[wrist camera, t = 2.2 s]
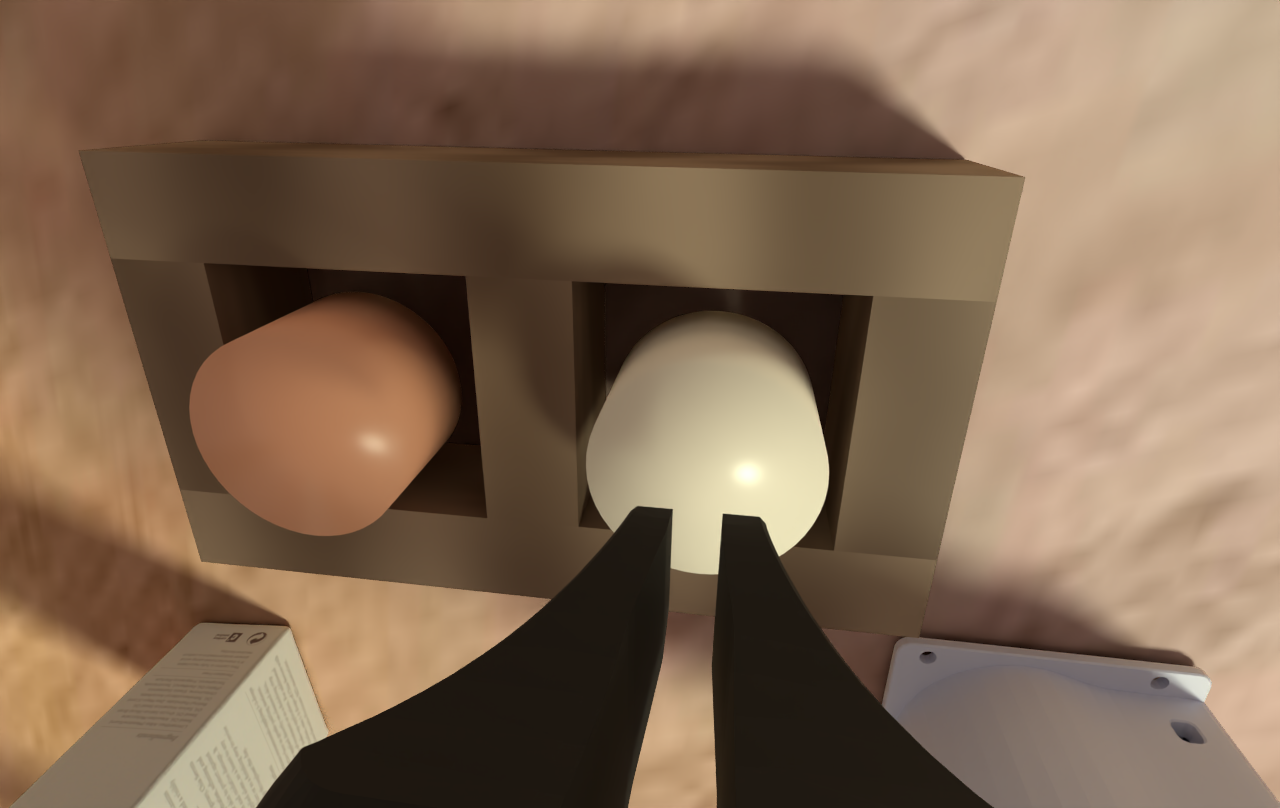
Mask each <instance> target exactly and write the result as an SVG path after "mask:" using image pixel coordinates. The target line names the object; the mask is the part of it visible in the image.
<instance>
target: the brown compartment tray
mask: <svg viewBox="0 0 1280 808" xmlns="http://www.w3.org/2000/svg"><path fill="white" fill-rule="evenodd" d="M79 154H80V157H81V161H82V164H83V167H84V171H85V174H86V177H87V181H88V184H89V187H90V191H91V194H92V197H93V201H94V204H95V207H96V211H97V214H98V217H99V221H100V224H101V228H102V231H103V234H104V238H105V241H106V244H107V248H108V251H109V254H110V258H111V261H112V264H113V268H114V271H115V274H116V278H117V281H118V284H119V288H120V291H121V294H122V298H123V301H124V304H125V308H126V311H127V314H128V318H129V321H130V324H131V328H132V331H133V334H134V338H135V341H136V344H137V348H138V351H139V354H140V358H141V361H142V364H143V368H144V371H145V375H146V378H147V381H148V385H149V388H150V391H151V395H152V398H153V401H154V405H155V408H156V411H157V415H158V418H159V421H160V425H161V428H162V431H163V435H164V438H165V441H166V445H167V448H168V451H169V455H170V458H171V461H172V465H173V468H174V471H175V475H176V478H177V481H178V485H179V488H180V491H181V495H182V498H183V501H184V505H185V508H186V512H187V515H188V518H189V522H190V525H191V528H192V532H193V535H194V538H195V542H196V545H197V548H198V552H199V555H200V558H201V562H211V563H220V564H229V565H239V566H248V567H258V568H267V569H276V570H286V571H295V572H304V573H314V574H323V575H332V576H342V577H351V578H360V579H370V580H379V581H389V582H398V583H407V584H417V585H426V586H435V587H445V588H454V589H463V590H473V591H482V592H491V593H501V594H510V595H520V596H529V597H538V598H548V599H553V598H554V597H555V596H556V595H557V594H558V593H559V592H560V591H561V590H562V589H563V588H564V587H565V586H566V585H567V584H568V583H569V582H570V581H571V580H572V579H573V578H574V577H575V576H576V575H577V574H578V573H579V572H580V571H581V570H582V569H583V568H584V567H585V566H586V565H587V564H588V562H589V561H590V560H591V559H592V558H593V557H594V556H595V555H596V554H597V553H598V551H599V550H600V549H601V548H602V547H603V546H604V545H605V543H606V542H607V541H608V540H609V539H610V537H611V536H612V535H613V534H614V532H613V531H612V530H611V529H610V528H609V526H608V525H607V523H606V522H605V521H604V519H603V518H602V516H601V515H600V513H599V511H598V509H597V507H596V506H595V503H594V501H593V498H592V496H591V493H590V489H589V485H588V481H587V473H586V453H587V448H588V443H589V438H590V435H591V433H592V430H593V427H594V425H595V423H596V420H597V418H598V416H599V414H600V412H601V410H602V408H603V405H604V403H605V401H606V350H605V283H619V284H639V285H660V286H680V287H701V288H721V289H741V290H762V291H782V292H802V293H823V294H843V302H842V309H841V317H840V324H839V331H838V338H837V346H836V353H835V360H834V368H833V375H832V382H831V390H830V397H829V404H828V411H827V419H826V426H825V433H824V442H825V446H826V451H827V455H828V464H829V482H828V489H827V494H826V498H825V501H824V504H823V506H822V509H821V511H820V514H819V515H818V517H817V519H816V521H815V522H814V524H813V525H812V527H811V528H810V529H809V531H808V532H807V533H806V534H805V536H804V537H803V538H802V539H801V540H800V541H799V542H798V543H797V544H796V545H795V546H793V547H792V548H791V549H789V550H788V551H787V552H785V553H784V554H782V555H781V556H779V558H780V560H781V562H782V564H783V566H784V568H785V570H786V571H787V573H788V575H789V577H790V579H791V581H792V582H793V584H794V586H795V588H796V589H797V591H798V593H799V594H800V596H801V598H802V600H803V601H804V603H805V605H806V606H807V608H808V609H809V611H810V613H811V614H812V616H813V617H814V619H815V620H816V622H817V623H818V625H819V626H820V628H828V629H838V630H847V631H856V632H866V633H875V634H884V635H894V636H903V637H912V638H919V636H920V632H921V627H922V623H923V619H924V614H925V610H926V606H927V601H928V597H929V593H930V588H931V584H932V580H933V575H934V571H935V567H936V562H937V558H938V554H939V549H940V545H941V541H942V536H943V532H944V528H945V523H946V519H947V515H948V510H949V506H950V501H951V497H952V493H953V488H954V484H955V480H956V475H957V471H958V467H959V462H960V458H961V454H962V449H963V445H964V441H965V436H966V432H967V428H968V423H969V419H970V415H971V410H972V406H973V402H974V397H975V393H976V389H977V384H978V380H979V376H980V371H981V367H982V363H983V358H984V354H985V350H986V345H987V341H988V337H989V332H990V328H991V324H992V319H993V315H994V311H995V306H996V302H997V298H998V293H999V289H1000V285H1001V280H1002V276H1003V272H1004V267H1005V263H1006V259H1007V254H1008V250H1009V246H1010V241H1011V237H1012V232H1013V228H1014V224H1015V219H1016V215H1017V211H1018V206H1019V202H1020V198H1021V193H1022V189H1023V185H1024V180H1025V177H1023V176H1019V175H1016V174H1013V173H1009V172H1006V171H1003V170H999V169H996V168H992V167H989V166H986V165H982V164H979V163H976V162H972V161H969V160H954V159H915V158H876V157H836V156H797V155H758V154H718V153H679V152H639V151H600V150H561V149H521V148H482V147H443V146H403V145H364V144H325V143H285V142H246V141H206V140H200V141H188V142H176V143H164V144H152V145H140V146H128V147H116V148H104V149H92V150H80V151H79ZM307 268H314V269H334V270H354V271H375V272H395V273H416V274H436V275H456V276H466V287H467V298H468V309H469V320H470V331H471V343H472V354H473V365H474V376H475V387H476V398H477V409H478V420H479V431H480V442H481V446H479V445H467V444H454V443H445V444H444V445H443V446H442V447H441V448H440V449H439V451H438V452H437V453H436V454H435V455H434V456H433V457H432V459H431V460H430V461H429V462H428V463H427V464H426V466H425V467H424V468H423V469H422V470H421V471H420V472H419V474H418V475H417V476H416V477H415V478H414V479H413V480H412V482H411V483H410V484H409V485H408V486H407V487H406V489H405V490H404V491H403V492H402V493H401V494H400V495H399V497H398V498H397V499H396V500H395V501H394V502H393V504H392V505H391V506H390V507H389V508H388V509H387V510H386V511H385V513H384V514H383V515H382V516H381V517H380V518H378V519H377V520H376V521H375V522H373V523H372V524H370V525H368V526H366V527H365V528H363V529H360V530H357V531H355V532H352V533H348V534H343V535H335V536H315V535H308V534H302V533H298V532H295V531H291V530H288V529H285V528H283V527H280V526H277V525H275V524H273V523H271V522H269V521H267V520H265V519H263V518H261V517H260V516H258V515H257V514H255V513H253V512H252V511H250V510H249V509H248V508H246V507H245V506H244V505H242V504H241V503H240V502H239V501H237V500H236V499H235V498H234V497H233V496H232V495H231V494H230V493H229V492H228V491H227V490H226V489H225V488H224V487H223V486H222V485H221V484H220V482H219V481H218V480H217V478H216V477H215V476H214V475H213V473H212V472H211V470H210V469H209V467H208V466H207V464H206V462H205V461H204V459H203V457H202V455H201V453H200V451H199V449H198V446H197V444H196V441H195V438H194V435H193V431H192V426H191V422H190V411H189V404H190V393H191V389H192V384H193V382H194V379H195V377H196V374H197V372H198V370H199V369H200V367H201V366H202V364H203V363H204V361H205V360H206V359H207V358H208V357H209V356H210V355H211V354H212V353H213V352H215V351H216V350H217V349H219V348H220V347H221V346H223V345H225V344H227V343H229V342H231V341H233V340H235V339H237V338H239V337H241V336H244V335H246V334H248V333H250V332H252V331H254V330H256V329H258V328H260V327H262V326H265V325H267V324H269V323H271V322H273V321H275V320H277V319H279V318H281V317H283V316H285V315H288V314H290V313H292V312H294V311H296V310H298V309H300V308H302V307H304V306H306V305H308V304H311V303H313V300H312V295H311V289H310V284H309V279H308V273H307ZM717 583H718V574H697V573H690V572H684V571H680V570H676V569H672V568H671V570H670V595H669V612H679V613H688V614H697V615H707V616H715V610H716V596H717Z"/></svg>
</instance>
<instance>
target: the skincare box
mask: <svg viewBox="0 0 1280 808" xmlns="http://www.w3.org/2000/svg"><path fill="white" fill-rule="evenodd" d="M327 735H328V729H327V726H326V724H325V721H324V719H323V716H322V713H321V711H320V708H319V705H318V703H317V700H316V697H315V694H314V691H313V689H312V686H311V683H310V681H309V678H308V675H307V673H306V670H305V667H304V665H303V662H302V659H301V657H300V654H299V651H298V648H297V645H296V643H295V640H294V637H293V634H292V631H291V629H290V628H289V627H287V626H275V625H248V624H223V623H199V624H197V625H196V626H195V627H194V628H193V629H192V630H190V631H189V632H188V633H187V634H186V635H185V636H184V637H183V638H182V639H181V640H180V641H179V642H178V643H177V644H176V645H175V646H174V647H173V648H172V649H171V650H170V651H169V652H168V653H167V654H166V655H165V656H164V657H163V658H162V659H161V660H160V661H159V662H158V663H157V664H156V665H155V666H154V667H153V668H152V669H151V670H150V671H149V672H148V673H146V674H145V675H144V676H143V677H142V678H141V679H140V680H139V681H138V682H137V683H136V684H135V685H134V686H133V687H132V688H131V689H130V690H129V691H128V692H127V693H126V694H125V695H124V696H123V697H122V698H121V699H120V700H119V701H118V702H117V703H116V704H115V705H114V706H113V707H112V708H111V709H110V710H109V711H108V712H107V713H106V714H105V715H103V716H102V717H101V718H100V719H99V720H98V721H97V722H96V723H95V724H94V725H93V726H92V727H91V728H90V729H89V730H88V731H87V732H86V733H85V734H84V735H83V736H82V737H81V738H80V739H79V740H78V741H77V742H76V743H75V744H74V745H73V746H72V747H70V748H69V749H68V750H67V751H66V752H65V753H64V754H63V755H62V756H61V757H60V758H59V759H58V760H57V761H56V762H55V763H54V764H53V765H52V766H51V767H50V768H49V769H48V770H47V771H46V772H45V773H44V774H43V775H42V776H41V777H40V778H39V779H38V780H37V781H36V782H35V783H34V784H33V785H32V786H31V787H30V788H29V789H28V790H27V791H26V792H25V793H24V794H23V795H21V796H20V797H19V798H18V799H17V800H16V801H15V802H14V803H13V804H12V805H11V806H10V807H9V808H256V807H257V805H258V804H259V802H260V801H261V800H262V798H263V797H264V795H265V794H266V793H267V791H268V790H269V788H270V787H271V786H272V784H273V783H274V782H275V780H276V779H277V778H278V777H279V776H280V774H281V773H282V772H283V771H284V769H285V768H286V767H287V766H288V765H289V763H290V762H291V761H292V760H293V759H294V757H295V756H296V755H297V753H298V752H299V751H300V750H301V748H303V747H305V746H308V745H310V744H313V743H315V742H318V741H320V740H322V739H324V738H326V737H327Z"/></svg>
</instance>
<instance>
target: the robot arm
mask: <svg viewBox="0 0 1280 808" xmlns="http://www.w3.org/2000/svg"><path fill="white" fill-rule="evenodd" d="M672 518H673V509H667V508H656V507H644V506H636V507H635V508H634V509H632V510H631V511H630V512H629V514H628V515H627V517H626V518H625V519H624V521H623V522H622V523H621V525H620V526H619V527H618V529H617V530H616V531H615V532H614V534H613V535H612V536H611V537H610V539H609V540H608V541H607V542H606V543H605V545H604V546H603V547H602V548H601V549H600V550H599V551H598V553H597V554H596V555H595V556H594V557H593V558H592V559H591V560H590V561H589V562H588V564H587V565H586V566H585V567H584V568H583V569H582V570H581V571H580V572H579V573H578V574H577V575H576V576H575V577H574V578H573V579H572V580H571V581H570V582H569V583H568V584H567V585H566V586H565V587H564V588H563V589H562V590H561V591H560V592H559V593H558V594H557V595H556V596H555V597H554V598H553V599H552V600H551V601H550V602H548V603H547V604H546V605H545V606H544V607H543V608H542V609H541V610H540V611H538V612H537V613H536V614H535V615H534V616H533V617H531V618H530V619H529V620H528V621H527V622H525V623H524V624H523V625H522V626H520V627H519V628H518V629H517V630H515V631H514V632H513V633H512V634H510V635H509V636H508V637H506V638H505V639H504V640H503V641H501V642H500V643H498V644H497V645H496V646H494V647H493V648H491V649H490V650H488V651H487V652H486V653H484V654H483V655H481V656H480V657H478V658H477V659H475V660H474V661H472V662H471V663H469V664H468V665H466V666H464V667H463V668H461V669H460V670H458V671H457V672H455V673H454V674H452V675H450V676H449V677H447V678H445V679H444V680H442V681H440V682H438V683H437V684H435V685H433V686H431V687H430V688H428V689H426V690H424V691H423V692H421V693H419V694H417V695H415V696H413V697H411V698H409V699H407V700H406V701H404V702H402V703H400V704H398V705H396V706H394V707H392V708H390V709H388V710H386V711H384V712H382V713H380V714H378V715H376V716H374V717H372V718H369V719H367V720H365V721H363V722H360V723H358V724H356V725H354V726H351V727H349V728H347V729H345V730H342V731H340V732H338V733H336V734H333V735H331V736H329V737H327V738H324V739H322V740H320V741H318V742H315V743H313V744H310V745H308V746H305V747H303V748H301V750H300V751H299V752H298V753H297V755H296V756H295V757H294V759H293V760H292V761H291V762H290V763H289V765H288V766H287V767H286V768H285V769H284V771H283V772H282V773H281V774H280V776H279V777H278V778H277V779H276V780H275V782H274V783H273V784H272V786H271V787H270V788H269V790H268V791H267V793H266V794H265V795H264V797H263V798H262V800H261V801H260V802H259V804H258V805H257V807H256V808H628V804H629V799H630V794H631V789H632V784H633V780H634V775H635V771H636V767H637V763H638V759H639V755H640V751H641V747H642V743H643V738H644V734H645V730H646V726H647V722H648V718H649V714H650V710H651V705H652V701H653V697H654V693H655V689H656V685H657V680H658V676H659V672H660V668H661V664H662V659H663V651H664V643H665V635H666V627H667V619H668V611H669V595H670V570H671V544H672ZM928 651H930V652H932V653H930V654H928V655H922V653H924V652H928ZM1157 677H1160V678H1158V679H1156V680H1153V679H1155V678H1157ZM712 683H713V709H714V734H715V759H716V784H717V808H1280V803H1279V801H1278V800H1277V799H1276V797H1275V796H1274V795H1273V793H1272V792H1271V791H1270V789H1269V788H1268V787H1267V785H1266V784H1265V783H1264V781H1263V780H1262V779H1261V777H1260V776H1259V775H1258V773H1257V772H1256V771H1255V769H1254V768H1253V767H1252V765H1251V764H1250V763H1249V761H1248V760H1247V759H1246V757H1245V756H1244V755H1243V753H1242V752H1241V751H1240V749H1239V748H1238V747H1237V745H1236V744H1235V743H1234V741H1233V740H1232V739H1231V737H1230V736H1229V735H1228V733H1227V732H1226V731H1225V729H1224V728H1223V727H1222V725H1221V724H1220V723H1219V721H1218V720H1217V719H1216V717H1215V716H1214V715H1213V713H1212V712H1211V711H1210V710H1209V708H1208V707H1207V706H1206V704H1205V703H1204V701H1205V699H1206V697H1207V695H1208V693H1209V691H1210V689H1211V685H1212V682H1211V680H1210V678H1209V677H1208V676H1207V674H1206V673H1205V672H1204V671H1203V670H1201V669H1200V668H1197V667H1193V666H1184V665H1174V664H1165V663H1156V662H1146V661H1137V660H1127V659H1118V658H1109V657H1099V656H1090V655H1081V654H1071V653H1062V652H1052V651H1043V650H1034V649H1024V648H1015V647H1006V646H996V645H987V644H977V643H968V642H959V641H949V640H940V639H931V638H921V637H919V638H912V637H904V638H901V639H900V640H898V641H897V642H896V644H895V646H894V650H893V655H892V659H891V664H890V669H889V673H888V678H887V683H886V688H885V692H884V697H883V702H882V705H881V704H880V703H879V702H878V700H877V699H876V698H875V697H874V696H873V695H872V694H871V692H870V691H869V690H868V689H867V688H866V687H865V686H864V684H863V683H862V682H861V681H860V680H859V678H858V677H857V676H856V675H855V673H854V672H853V671H852V670H851V669H850V667H849V666H848V665H847V664H846V662H845V661H844V660H843V658H842V657H841V656H840V654H839V653H838V652H837V650H836V649H835V648H834V646H833V645H832V644H831V642H830V641H829V639H828V638H827V637H826V635H825V634H824V632H823V631H822V629H821V628H820V626H819V625H818V623H817V622H816V620H815V619H814V617H813V616H812V614H811V613H810V611H809V609H808V608H807V606H806V605H805V603H804V601H803V600H802V598H801V596H800V594H799V593H798V591H797V589H796V588H795V586H794V584H793V582H792V581H791V579H790V577H789V575H788V573H787V571H786V570H785V568H784V566H783V564H782V562H781V560H780V558H779V556H778V553H777V551H776V549H775V547H774V545H773V542H772V540H771V538H770V535H769V532H768V530H767V526H766V523H765V522H764V521H763V520H762V519H761V518H760V517H757V516H746V515H735V514H723V515H722V529H721V542H720V556H719V569H718V583H717V596H716V610H715V625H714V641H713V656H712Z"/></svg>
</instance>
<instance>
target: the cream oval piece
mask: <svg viewBox="0 0 1280 808" xmlns="http://www.w3.org/2000/svg"><path fill="white" fill-rule="evenodd" d="M586 473H587V481H588V485H589V489H590V493H591V496H592V498H593V501H594V503H595V506H596V507H597V509H598V511H599V513H600V515H601V516H602V518H603V519H604V521H605V522H606V523H607V525H608V526H609V528H610V529H611V530H612V531H613V532H615V531H616V530H617V529H618V527H619V526H620V525H621V523H622V522H623V521H624V519H625V518H626V517H627V515H628V514H629V512H630V511H631V510H632V509H634V508H635V507H636V506H644V507H656V508H667V509H673V518H672V544H671V568H672V569H676V570H680V571H684V572H690V573H697V574H718V569H719V556H720V542H721V529H722V515H723V514H735V515H746V516H757V517H760V518H761V519H762V520H763V521H764V522H765V523H766V526H767V530H768V532H769V535H770V538H771V540H772V542H773V545H774V547H775V549H776V551H777V553H778V556H781V555H782V554H784V553H785V552H787V551H788V550H789V549H791V548H792V547H793V546H795V545H796V544H797V543H798V542H799V541H800V540H801V539H802V538H803V537H804V536H805V534H806V533H807V532H808V531H809V529H810V528H811V527H812V525H813V524H814V522H815V521H816V519H817V517H818V515H819V514H820V511H821V509H822V506H823V504H824V501H825V498H826V494H827V489H828V482H829V464H828V455H827V451H826V446H825V442H824V437H823V433H822V428H821V424H820V419H819V415H818V410H817V406H816V401H815V397H814V392H813V388H812V384H811V380H810V376H809V374H808V371H807V369H806V366H805V365H804V363H803V361H802V359H801V358H800V356H799V354H798V353H797V352H796V351H795V349H794V348H793V347H792V345H791V344H790V343H789V342H788V341H787V340H786V339H785V338H783V337H782V336H781V335H780V334H779V333H777V332H776V331H775V330H773V329H772V328H771V327H769V326H767V325H765V324H763V323H762V322H760V321H758V320H755V319H753V318H750V317H747V316H745V315H740V314H736V313H732V312H724V311H700V312H693V313H688V314H684V315H681V316H677V317H675V318H672V319H670V320H668V321H665V322H664V323H662V324H660V325H658V326H657V327H655V328H653V329H652V330H651V331H650V332H648V333H647V334H646V335H644V336H643V337H642V338H641V339H640V340H639V341H638V342H637V343H636V344H635V346H634V347H633V348H632V350H631V351H630V352H629V354H628V355H627V357H626V359H625V361H624V363H623V365H622V367H621V369H620V371H619V373H618V375H617V377H616V379H615V382H614V384H613V386H612V388H611V390H610V392H609V395H608V397H607V399H606V401H605V403H604V405H603V408H602V410H601V412H600V414H599V416H598V418H597V420H596V423H595V425H594V427H593V430H592V433H591V435H590V438H589V443H588V448H587V453H586Z"/></svg>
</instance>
